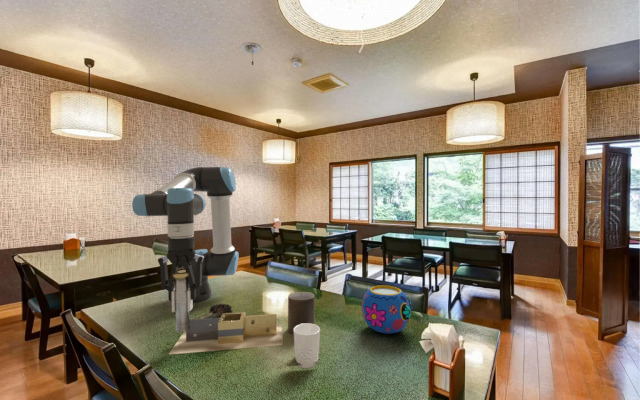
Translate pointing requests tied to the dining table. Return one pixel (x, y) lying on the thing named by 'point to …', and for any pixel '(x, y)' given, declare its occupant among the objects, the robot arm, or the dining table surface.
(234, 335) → the hinge
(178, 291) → the hinge pin
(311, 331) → the white cup
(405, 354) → the dining table surface
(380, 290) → the ceramic pot
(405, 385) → the dining table surface
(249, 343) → the mounting board
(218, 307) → the branch with fungus
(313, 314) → the pillar candle
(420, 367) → the dining table surface
